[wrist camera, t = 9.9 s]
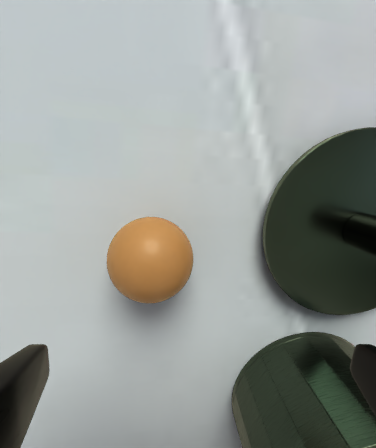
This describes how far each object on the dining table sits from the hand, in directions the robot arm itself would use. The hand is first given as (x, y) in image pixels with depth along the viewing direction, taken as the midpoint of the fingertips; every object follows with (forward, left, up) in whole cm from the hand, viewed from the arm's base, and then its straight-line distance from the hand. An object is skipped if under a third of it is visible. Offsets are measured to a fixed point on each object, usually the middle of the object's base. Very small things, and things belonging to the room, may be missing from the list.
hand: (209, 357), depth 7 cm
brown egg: (-2, 0, -8) cm, 8 cm away
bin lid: (+12, +2, -10) cm, 15 cm away
